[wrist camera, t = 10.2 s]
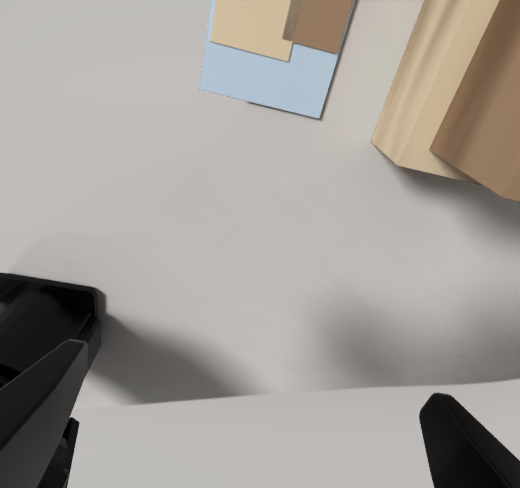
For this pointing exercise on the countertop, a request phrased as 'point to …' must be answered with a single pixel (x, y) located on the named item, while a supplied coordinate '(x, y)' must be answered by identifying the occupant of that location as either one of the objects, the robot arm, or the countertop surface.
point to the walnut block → (488, 109)
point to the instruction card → (274, 51)
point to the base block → (430, 83)
